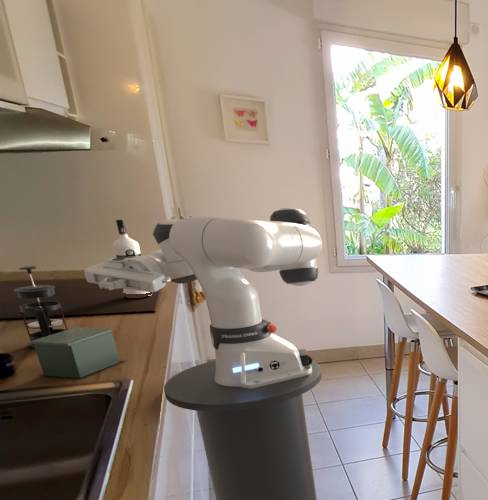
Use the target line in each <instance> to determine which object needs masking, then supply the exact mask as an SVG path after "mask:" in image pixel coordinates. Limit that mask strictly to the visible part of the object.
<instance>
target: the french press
mask: <svg viewBox="0 0 488 500" xmlns="http://www.w3.org/2000/svg"><path fill="white" fill-rule="evenodd" d="M38 268H39V267H38V266H35V265H28V266H21V267H19V268H18V270H19V271H20V270H21V271H26V273H27V275H29V277H30V280H31V283H32V285H26V286H19V287H17V288H14V289H13V292H14V293H16V294H17V298H18V299H24V300H27V299H28V300H29V299H32V300H33V299H36V300H37V301H34V302H27V303H24V304H21V305H19V306H18V307H19V310H20V314H21V317H22V320H23V322H24V326H25V328H26V332H27V335H28V337H29V342H30V341H33V340H36V339H39V338H43V337H46V336H49V335H52V334H56V333H59V332H62V331H65V330H69V329H68V326H67V322H66V318H65V316H64V311H63V309H62V306H61V302H60V301H56V300H44V301H41V300H40V299H42V298H48V297H53V296H54V295H56V293H55V290H54V289H55V288H56V286H55V285H52V284H35V281H34V278H33V270H35V269H36V270H37V269H38ZM59 309H60V313H61V316H62V319H55V318H54V319H51V318H50V313H49V312H52V311H56V310H59ZM25 314H35V317H36V320H37V321H33V322H29V323H27V320H26V318H25ZM62 325H64V326H65V328H57V327H59V326H62ZM55 327H56V328H55ZM29 329H31V330H39V331H35V332H31V333H30V330H29ZM30 347H31V348H33V349H35V347H34V344H31V343H30Z"/></svg>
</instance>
